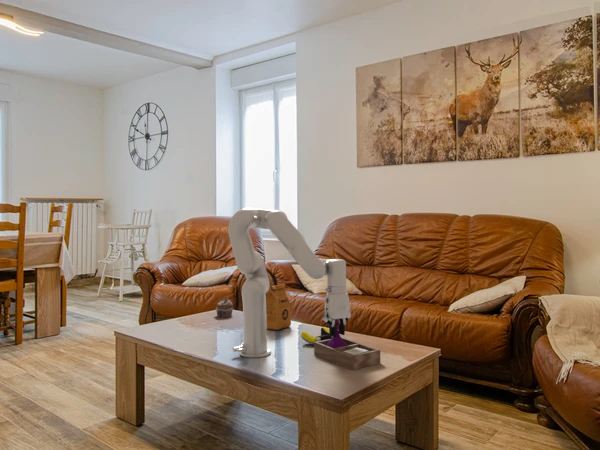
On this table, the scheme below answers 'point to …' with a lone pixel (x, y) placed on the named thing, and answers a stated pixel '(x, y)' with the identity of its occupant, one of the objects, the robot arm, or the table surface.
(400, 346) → the table surface
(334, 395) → the table surface
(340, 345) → the perfume bottle
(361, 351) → the upper offcut
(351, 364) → the divided wooden tray
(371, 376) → the table surface
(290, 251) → the robot arm
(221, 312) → the cupcake
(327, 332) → the gaming controller
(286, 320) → the coffee package
